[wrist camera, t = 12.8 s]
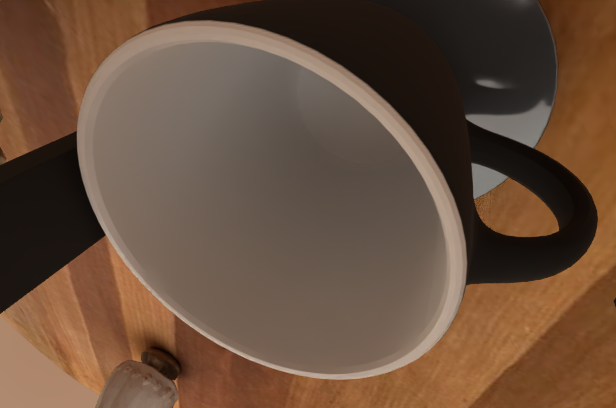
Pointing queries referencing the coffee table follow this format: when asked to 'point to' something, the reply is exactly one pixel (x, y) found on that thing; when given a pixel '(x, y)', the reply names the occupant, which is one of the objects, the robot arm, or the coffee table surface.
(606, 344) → the coffee table surface
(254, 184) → the mug
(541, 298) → the coffee table surface
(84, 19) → the coffee table surface
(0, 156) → the potted plant
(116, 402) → the figurine
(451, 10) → the coaster
